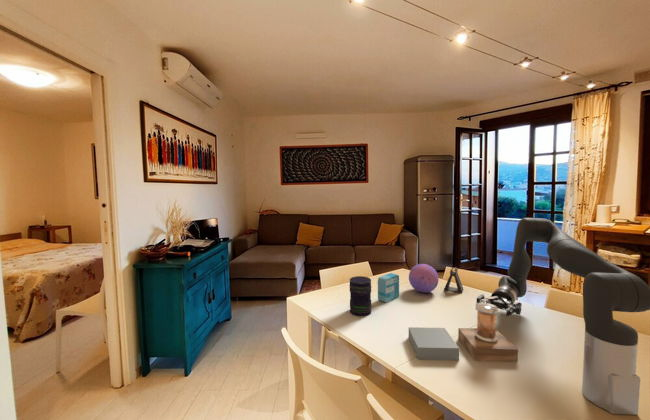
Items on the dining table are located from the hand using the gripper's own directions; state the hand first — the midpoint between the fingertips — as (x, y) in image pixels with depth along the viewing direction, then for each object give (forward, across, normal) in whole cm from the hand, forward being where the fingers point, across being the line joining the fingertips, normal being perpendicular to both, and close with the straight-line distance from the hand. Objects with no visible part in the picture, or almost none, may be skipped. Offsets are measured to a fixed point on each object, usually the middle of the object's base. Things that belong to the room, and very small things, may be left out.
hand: (493, 310), depth 100 cm
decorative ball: (-27, -39, +11) cm, 48 cm away
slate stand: (+22, -14, +10) cm, 28 cm away
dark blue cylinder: (+15, -50, +11) cm, 53 cm away
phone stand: (-40, -28, +11) cm, 50 cm away
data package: (-6, -48, +11) cm, 49 cm away
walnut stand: (+10, 0, +10) cm, 14 cm away
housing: (+10, 0, +6) cm, 12 cm away
